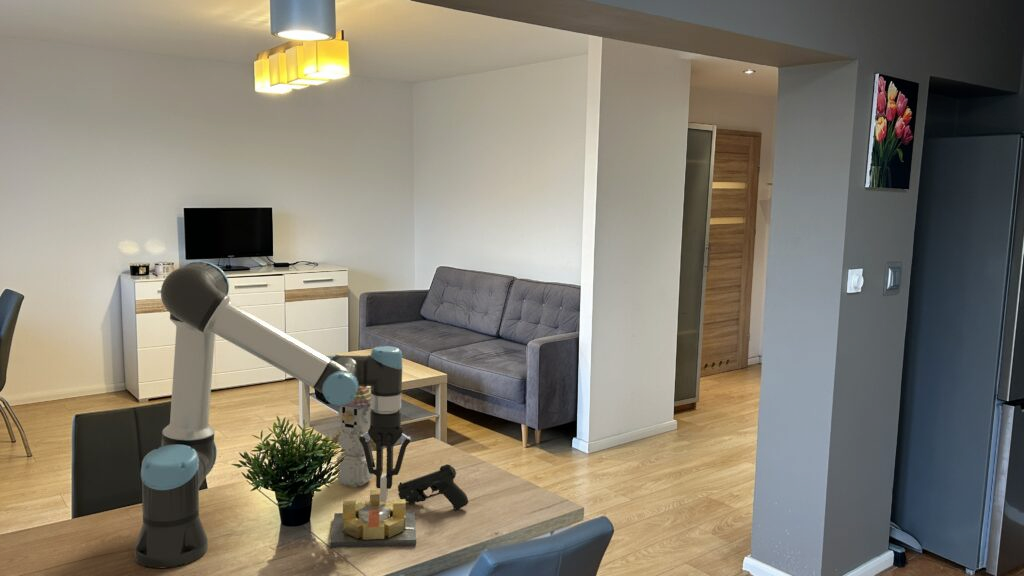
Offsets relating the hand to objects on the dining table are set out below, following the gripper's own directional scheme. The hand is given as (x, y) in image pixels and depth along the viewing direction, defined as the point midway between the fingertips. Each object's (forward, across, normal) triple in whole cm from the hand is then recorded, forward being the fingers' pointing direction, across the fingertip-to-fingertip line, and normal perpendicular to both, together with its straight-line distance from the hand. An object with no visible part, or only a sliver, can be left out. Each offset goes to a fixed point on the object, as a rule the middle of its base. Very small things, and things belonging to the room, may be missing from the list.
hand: (383, 500), depth 197 cm
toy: (+6, +13, -25) cm, 29 cm away
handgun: (+6, -11, -11) cm, 17 cm away
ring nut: (+4, +1, +6) cm, 7 cm away
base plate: (+6, +1, +6) cm, 8 cm away
